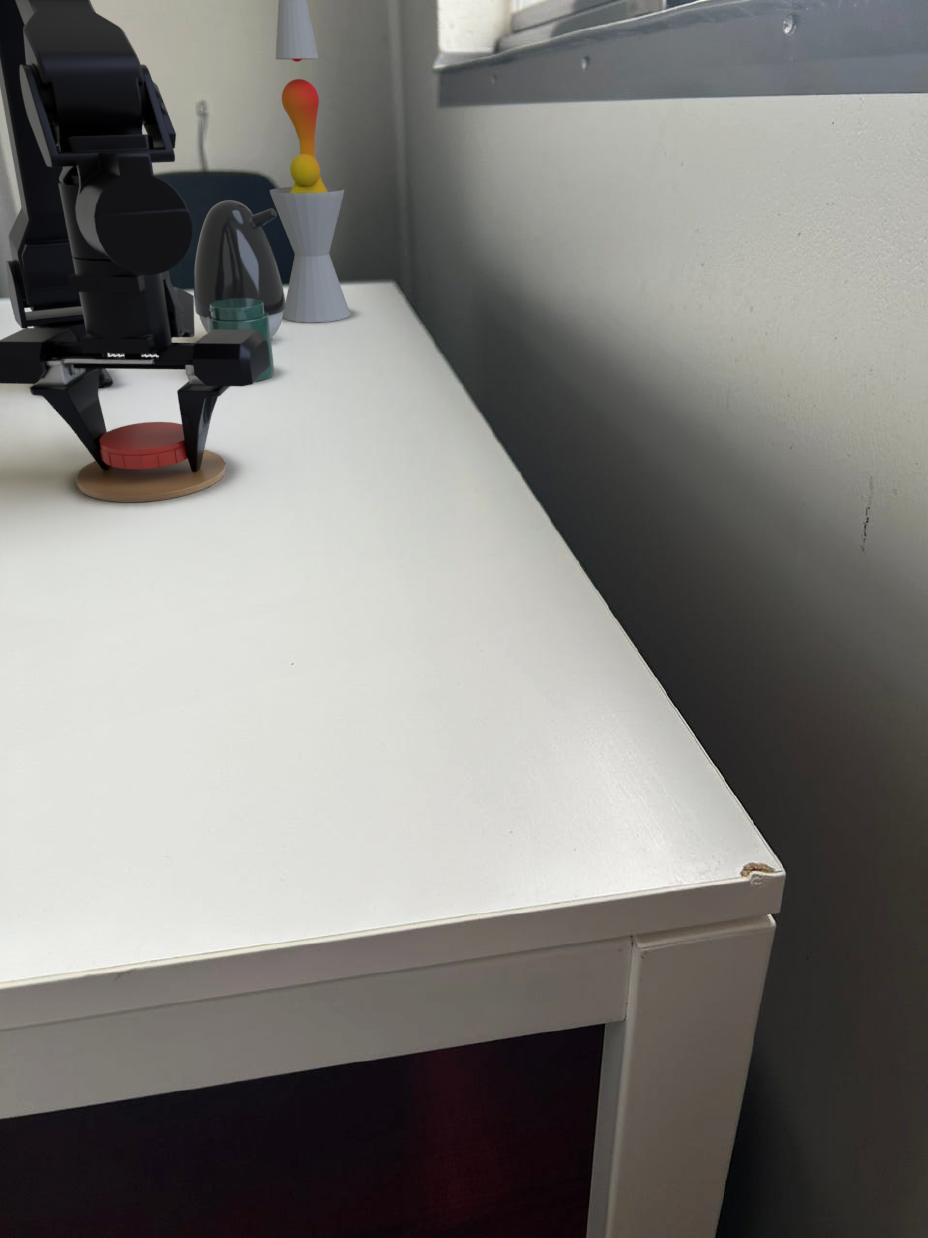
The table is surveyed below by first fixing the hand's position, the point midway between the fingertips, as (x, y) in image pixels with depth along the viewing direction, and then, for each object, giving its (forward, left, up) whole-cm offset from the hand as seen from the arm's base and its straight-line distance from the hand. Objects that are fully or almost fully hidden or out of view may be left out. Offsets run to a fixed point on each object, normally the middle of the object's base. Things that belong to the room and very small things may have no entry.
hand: (152, 469), depth 75 cm
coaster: (0, 0, 0) cm, 0 cm away
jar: (-26, +14, 0) cm, 30 cm away
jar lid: (0, 0, +2) cm, 2 cm away
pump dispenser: (-41, +18, -1) cm, 45 cm away
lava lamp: (-51, +30, -1) cm, 59 cm away
